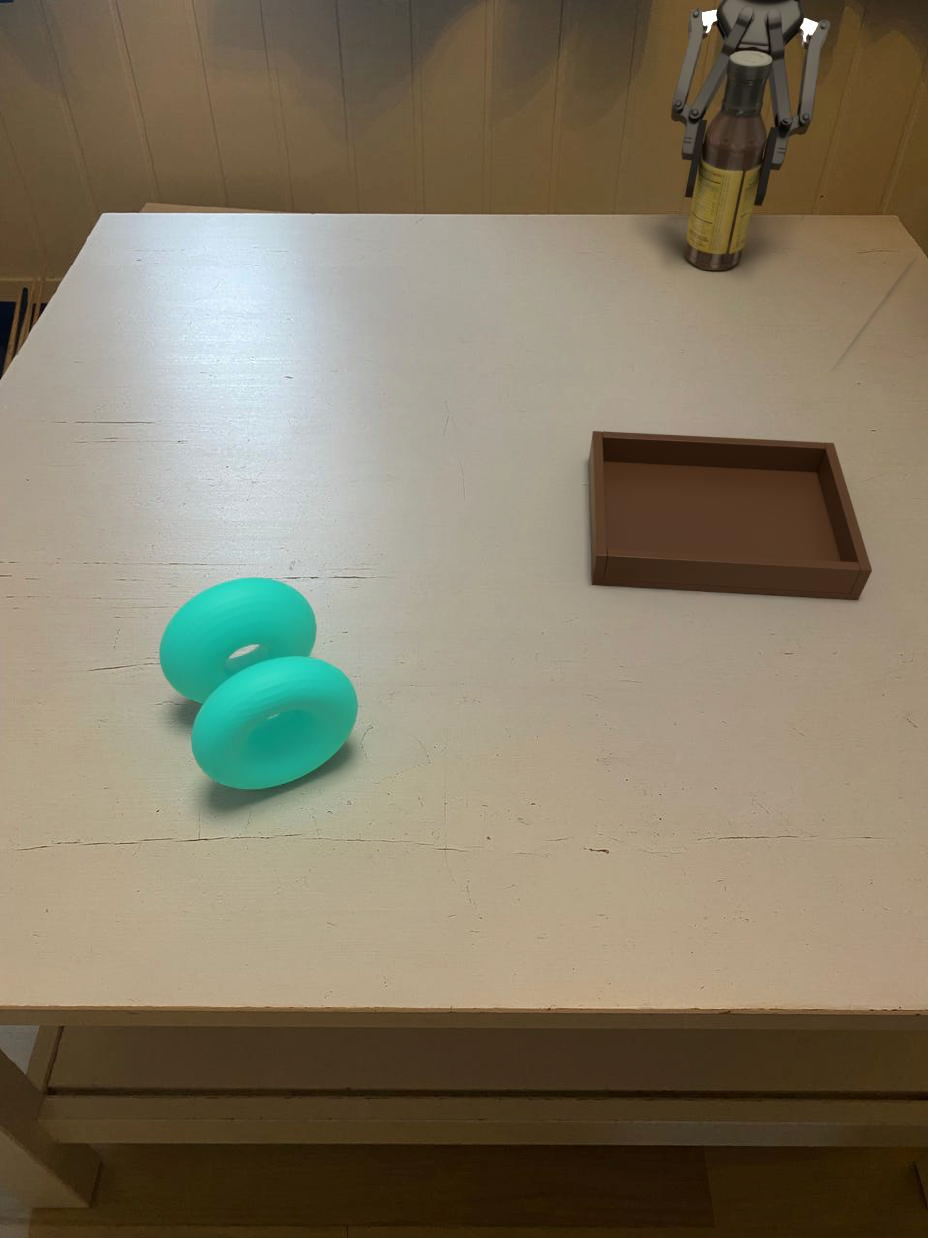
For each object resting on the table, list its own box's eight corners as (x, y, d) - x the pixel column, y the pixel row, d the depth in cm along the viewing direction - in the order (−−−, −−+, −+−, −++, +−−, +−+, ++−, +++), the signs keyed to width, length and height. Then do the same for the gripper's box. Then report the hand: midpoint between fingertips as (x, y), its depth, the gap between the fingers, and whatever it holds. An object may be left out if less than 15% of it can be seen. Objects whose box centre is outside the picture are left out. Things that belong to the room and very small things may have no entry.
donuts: (314, 650, 66) (297, 547, 58) (370, 758, 60) (358, 660, 53) (173, 701, 63) (136, 599, 55) (218, 821, 57) (182, 725, 50)
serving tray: (822, 472, 79) (834, 442, 77) (858, 600, 70) (872, 570, 67) (588, 460, 80) (592, 430, 78) (591, 584, 70) (596, 555, 68)
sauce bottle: (727, 242, 105) (774, 42, 90) (748, 270, 101) (801, 66, 86) (672, 246, 104) (711, 46, 90) (692, 275, 100) (735, 70, 85)
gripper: (862, -12, 95) (815, 221, 97) (671, -27, 98) (628, 199, 100) (883, -61, 87) (831, 192, 89) (675, -77, 90) (628, 169, 92)
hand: (724, 195), depth 94 cm, fingers closed on sauce bottle, 6 cm apart
